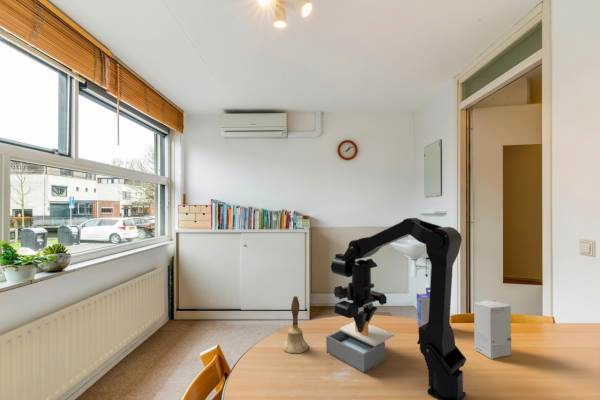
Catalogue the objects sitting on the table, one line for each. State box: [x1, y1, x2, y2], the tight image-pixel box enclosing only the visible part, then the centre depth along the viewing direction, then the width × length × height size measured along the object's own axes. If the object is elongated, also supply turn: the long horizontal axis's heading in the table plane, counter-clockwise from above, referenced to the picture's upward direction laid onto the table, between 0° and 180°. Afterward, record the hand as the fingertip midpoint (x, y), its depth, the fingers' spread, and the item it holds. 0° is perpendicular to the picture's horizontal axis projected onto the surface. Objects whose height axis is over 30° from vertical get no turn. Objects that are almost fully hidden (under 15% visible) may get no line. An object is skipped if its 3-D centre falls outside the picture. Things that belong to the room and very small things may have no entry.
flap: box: [338, 320, 395, 346], centre depth 89 cm, size 14×10×5 cm
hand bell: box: [281, 295, 309, 355], centre depth 91 cm, size 8×8×16 cm
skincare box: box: [473, 299, 512, 360], centre depth 87 cm, size 8×6×15 cm
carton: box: [325, 329, 386, 374], centre depth 85 cm, size 14×10×5 cm
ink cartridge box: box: [416, 287, 430, 329], centre depth 102 cm, size 10×6×14 cm, turn 86°
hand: (361, 331), depth 87 cm, fingers closed on flap
